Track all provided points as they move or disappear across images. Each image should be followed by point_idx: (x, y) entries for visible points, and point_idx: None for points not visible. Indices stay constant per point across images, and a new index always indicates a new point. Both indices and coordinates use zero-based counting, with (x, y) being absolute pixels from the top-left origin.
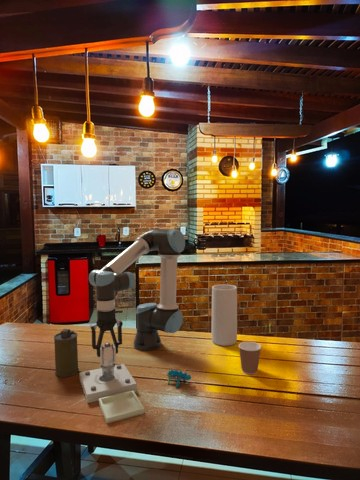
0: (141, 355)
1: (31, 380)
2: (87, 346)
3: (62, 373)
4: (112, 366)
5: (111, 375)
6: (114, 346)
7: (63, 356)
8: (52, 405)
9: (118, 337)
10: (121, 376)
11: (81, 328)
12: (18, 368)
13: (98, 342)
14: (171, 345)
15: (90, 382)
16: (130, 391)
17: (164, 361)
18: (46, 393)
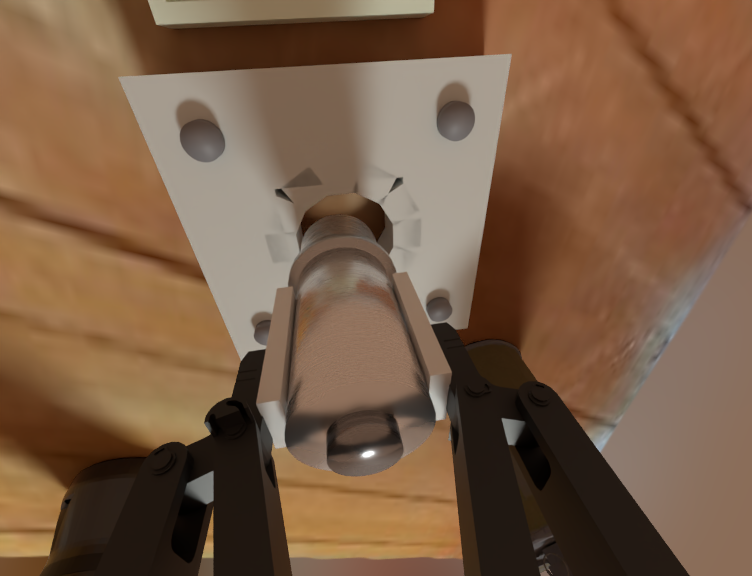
0: (164, 429)
1: (600, 341)
2: (377, 487)
3: (510, 351)
4: (311, 255)
5: (321, 223)
6: (270, 421)
7: None
8: (633, 118)
9: (177, 573)
10: (253, 229)
11: (377, 551)
12: (596, 408)
13: (508, 476)
14: (12, 482)
15: (446, 216)
16: (181, 14)
17: (12, 373)
18: (602, 239)
